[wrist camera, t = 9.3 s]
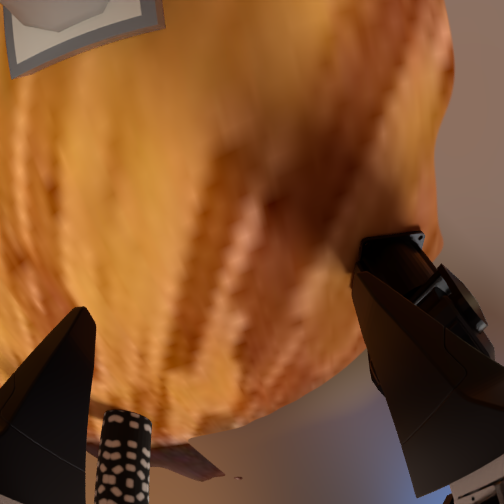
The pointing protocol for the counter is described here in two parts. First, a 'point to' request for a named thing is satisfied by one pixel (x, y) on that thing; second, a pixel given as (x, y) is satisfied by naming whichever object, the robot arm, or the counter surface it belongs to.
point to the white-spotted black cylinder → (123, 459)
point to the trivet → (77, 34)
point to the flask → (54, 12)
